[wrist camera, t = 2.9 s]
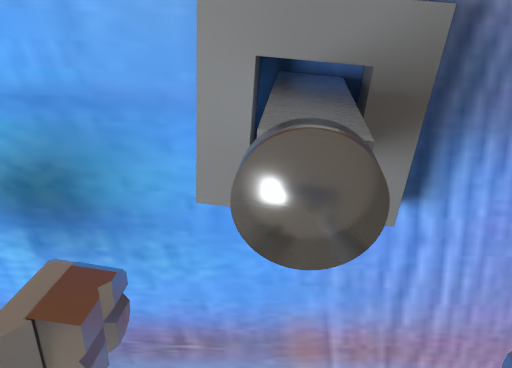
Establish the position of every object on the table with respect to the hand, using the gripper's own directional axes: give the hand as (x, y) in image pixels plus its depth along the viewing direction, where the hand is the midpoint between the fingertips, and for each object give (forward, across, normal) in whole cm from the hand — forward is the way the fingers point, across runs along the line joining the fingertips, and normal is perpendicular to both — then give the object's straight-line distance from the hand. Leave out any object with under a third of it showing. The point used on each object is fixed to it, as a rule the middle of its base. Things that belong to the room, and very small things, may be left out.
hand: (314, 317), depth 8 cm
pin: (+18, 0, 0) cm, 19 cm away
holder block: (+18, 0, 0) cm, 19 cm away
